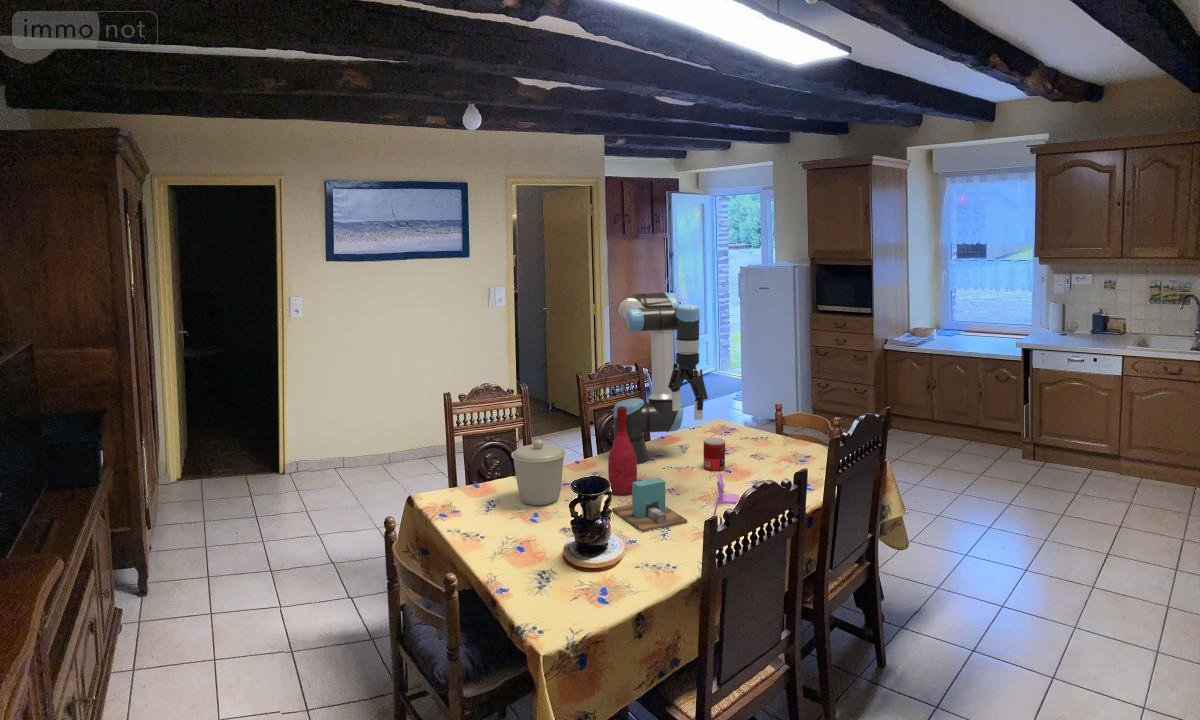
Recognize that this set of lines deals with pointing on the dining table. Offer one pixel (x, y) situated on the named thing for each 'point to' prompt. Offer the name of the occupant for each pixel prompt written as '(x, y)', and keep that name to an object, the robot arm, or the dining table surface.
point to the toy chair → (724, 497)
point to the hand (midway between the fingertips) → (687, 414)
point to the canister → (539, 472)
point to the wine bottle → (622, 459)
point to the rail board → (649, 522)
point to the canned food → (714, 454)
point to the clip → (647, 496)
